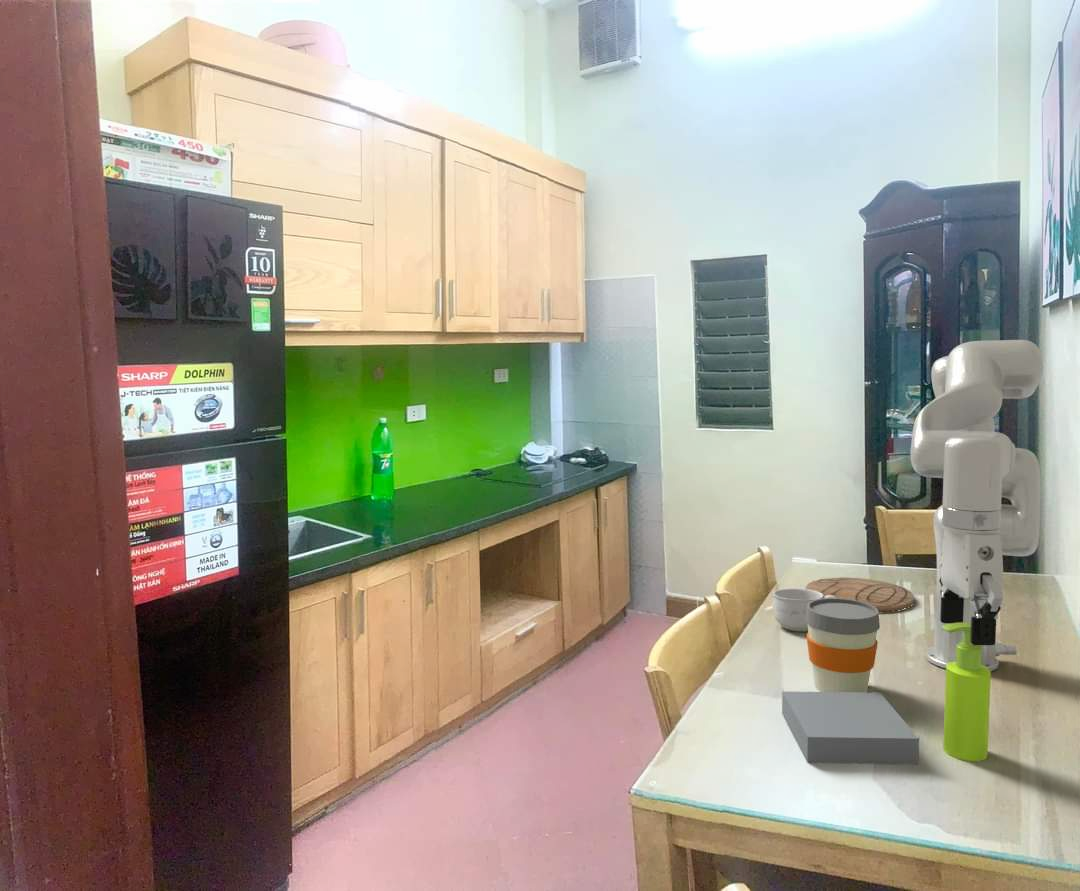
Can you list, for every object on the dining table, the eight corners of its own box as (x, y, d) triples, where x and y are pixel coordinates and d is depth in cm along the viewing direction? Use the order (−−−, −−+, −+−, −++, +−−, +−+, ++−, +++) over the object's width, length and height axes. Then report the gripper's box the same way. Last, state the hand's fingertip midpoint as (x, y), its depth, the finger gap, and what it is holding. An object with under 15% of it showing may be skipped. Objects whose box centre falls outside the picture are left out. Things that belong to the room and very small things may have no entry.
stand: (879, 715, 130) (879, 692, 130) (918, 764, 114) (919, 738, 114) (782, 714, 131) (782, 691, 131) (807, 762, 116) (807, 736, 115)
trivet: (793, 603, 191) (793, 596, 191) (820, 579, 212) (821, 572, 211) (903, 621, 177) (903, 613, 177) (921, 593, 197) (921, 586, 197)
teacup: (770, 632, 171) (770, 597, 170) (775, 617, 181) (775, 583, 180) (838, 640, 165) (838, 603, 164) (839, 623, 175) (839, 589, 174)
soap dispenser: (928, 743, 120) (933, 619, 118) (971, 741, 121) (976, 616, 119) (952, 763, 115) (956, 632, 112) (996, 760, 115) (1001, 629, 113)
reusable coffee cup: (852, 671, 149) (854, 595, 147) (893, 699, 136) (895, 616, 135) (791, 677, 146) (792, 600, 145) (827, 706, 134) (828, 622, 133)
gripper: (1030, 531, 105) (1024, 654, 106) (969, 509, 122) (965, 615, 124) (972, 531, 105) (967, 653, 107) (920, 509, 123) (916, 615, 124)
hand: (966, 633), depth 115 cm, fingers open, 9 cm apart
